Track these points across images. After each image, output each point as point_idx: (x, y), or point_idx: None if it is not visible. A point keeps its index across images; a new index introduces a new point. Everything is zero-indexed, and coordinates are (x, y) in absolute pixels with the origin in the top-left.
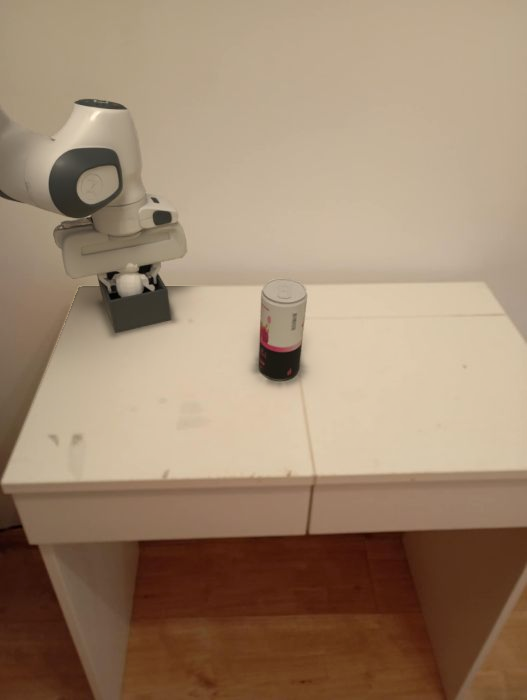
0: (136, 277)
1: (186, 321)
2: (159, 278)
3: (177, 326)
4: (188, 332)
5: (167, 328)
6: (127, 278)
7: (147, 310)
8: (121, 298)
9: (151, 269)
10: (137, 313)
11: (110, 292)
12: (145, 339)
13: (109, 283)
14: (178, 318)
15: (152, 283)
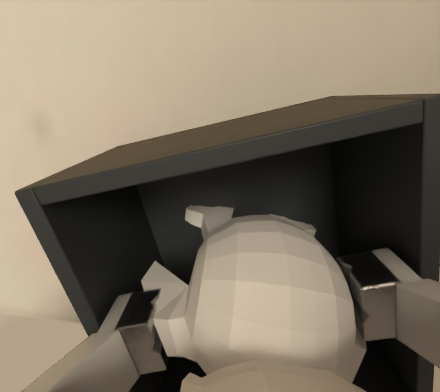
0: (215, 320)
1: (56, 126)
2: (85, 315)
3: (89, 98)
4: (40, 46)
5: (127, 91)
6: (284, 315)
7: (187, 136)
8: (341, 130)
9: (119, 389)
10: (237, 125)
11: (378, 251)
12: (215, 27)
13: (413, 294)
14: (89, 151)
15: (139, 293)
